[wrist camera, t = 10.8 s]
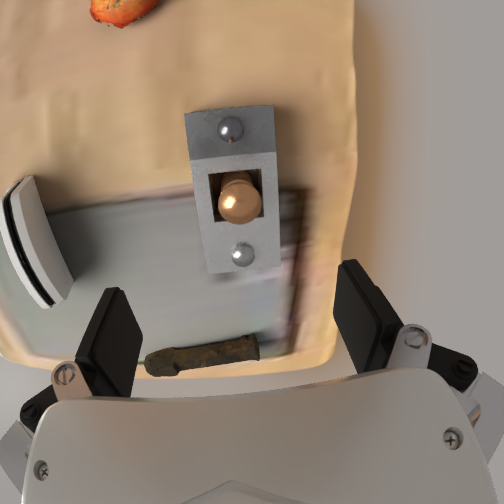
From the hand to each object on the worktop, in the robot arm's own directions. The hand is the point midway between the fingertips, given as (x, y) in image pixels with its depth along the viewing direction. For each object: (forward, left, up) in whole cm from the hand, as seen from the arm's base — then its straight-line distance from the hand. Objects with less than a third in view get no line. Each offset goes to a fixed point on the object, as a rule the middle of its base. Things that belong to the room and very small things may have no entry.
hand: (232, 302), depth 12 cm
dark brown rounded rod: (+27, -8, -21) cm, 35 cm away
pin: (+1, +1, -21) cm, 21 cm away
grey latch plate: (+1, +1, -21) cm, 21 cm away
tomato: (-23, -9, -21) cm, 32 cm away
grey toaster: (+3, -25, -21) cm, 33 cm away
